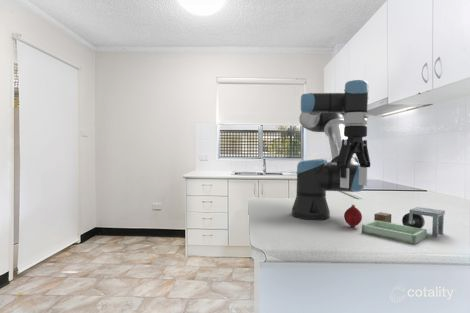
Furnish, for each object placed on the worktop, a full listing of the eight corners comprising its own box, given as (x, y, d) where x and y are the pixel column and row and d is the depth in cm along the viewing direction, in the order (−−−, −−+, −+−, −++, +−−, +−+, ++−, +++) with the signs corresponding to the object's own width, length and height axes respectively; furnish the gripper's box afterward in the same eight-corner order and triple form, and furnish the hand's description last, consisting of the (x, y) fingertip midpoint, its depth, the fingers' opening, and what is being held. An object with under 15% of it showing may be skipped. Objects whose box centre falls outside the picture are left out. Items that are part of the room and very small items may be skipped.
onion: (363, 230, 100) (363, 206, 100) (345, 228, 101) (345, 205, 101) (359, 225, 106) (360, 203, 106) (342, 224, 107) (343, 202, 107)
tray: (361, 232, 97) (361, 224, 97) (375, 227, 104) (375, 220, 104) (414, 244, 85) (415, 235, 85) (426, 237, 92) (426, 229, 92)
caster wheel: (399, 230, 100) (399, 208, 100) (407, 226, 106) (408, 205, 106) (437, 237, 92) (437, 213, 92) (444, 233, 98) (444, 210, 97)
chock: (374, 224, 108) (374, 213, 108) (379, 222, 111) (380, 212, 111) (385, 226, 105) (385, 215, 105) (391, 224, 108) (391, 214, 108)
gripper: (348, 122, 92) (346, 190, 92) (381, 127, 108) (379, 185, 109) (326, 123, 97) (325, 187, 98) (360, 128, 114) (359, 183, 114)
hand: (353, 186), depth 103 cm, fingers open, 13 cm apart
